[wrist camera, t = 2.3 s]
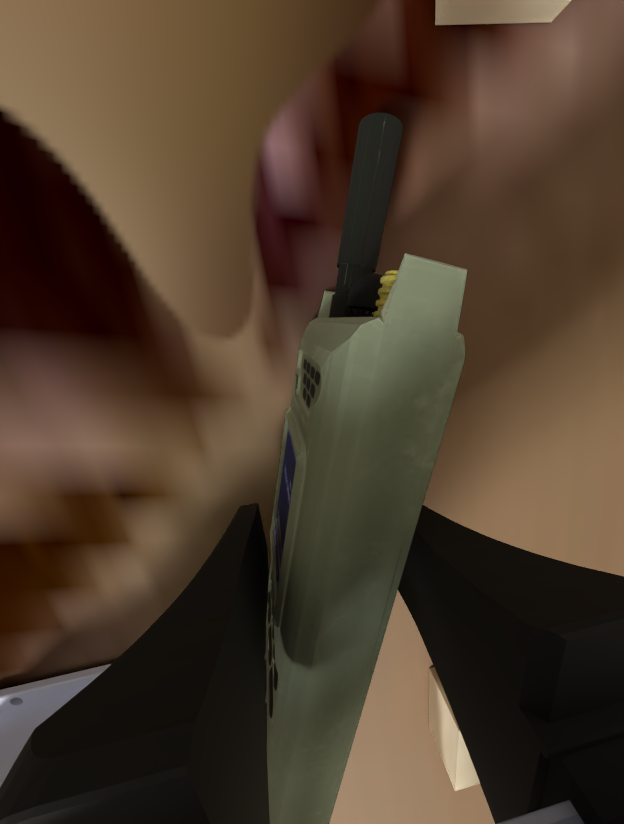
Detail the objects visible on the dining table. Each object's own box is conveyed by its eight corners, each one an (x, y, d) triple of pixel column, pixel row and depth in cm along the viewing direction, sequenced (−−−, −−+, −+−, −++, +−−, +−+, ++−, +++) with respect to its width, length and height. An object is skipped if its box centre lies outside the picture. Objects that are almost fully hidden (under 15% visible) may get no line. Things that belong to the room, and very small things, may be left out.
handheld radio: (247, 675, 16) (316, 132, 9) (305, 671, 17) (409, 159, 10) (238, 897, 10) (419, -238, 3) (330, 877, 11) (650, -105, 4)
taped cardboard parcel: (428, 725, 20) (456, 793, 18) (438, -304, 7) (554, -727, 4) (481, 710, 21) (516, 774, 18) (582, -290, 8) (776, -665, 5)
